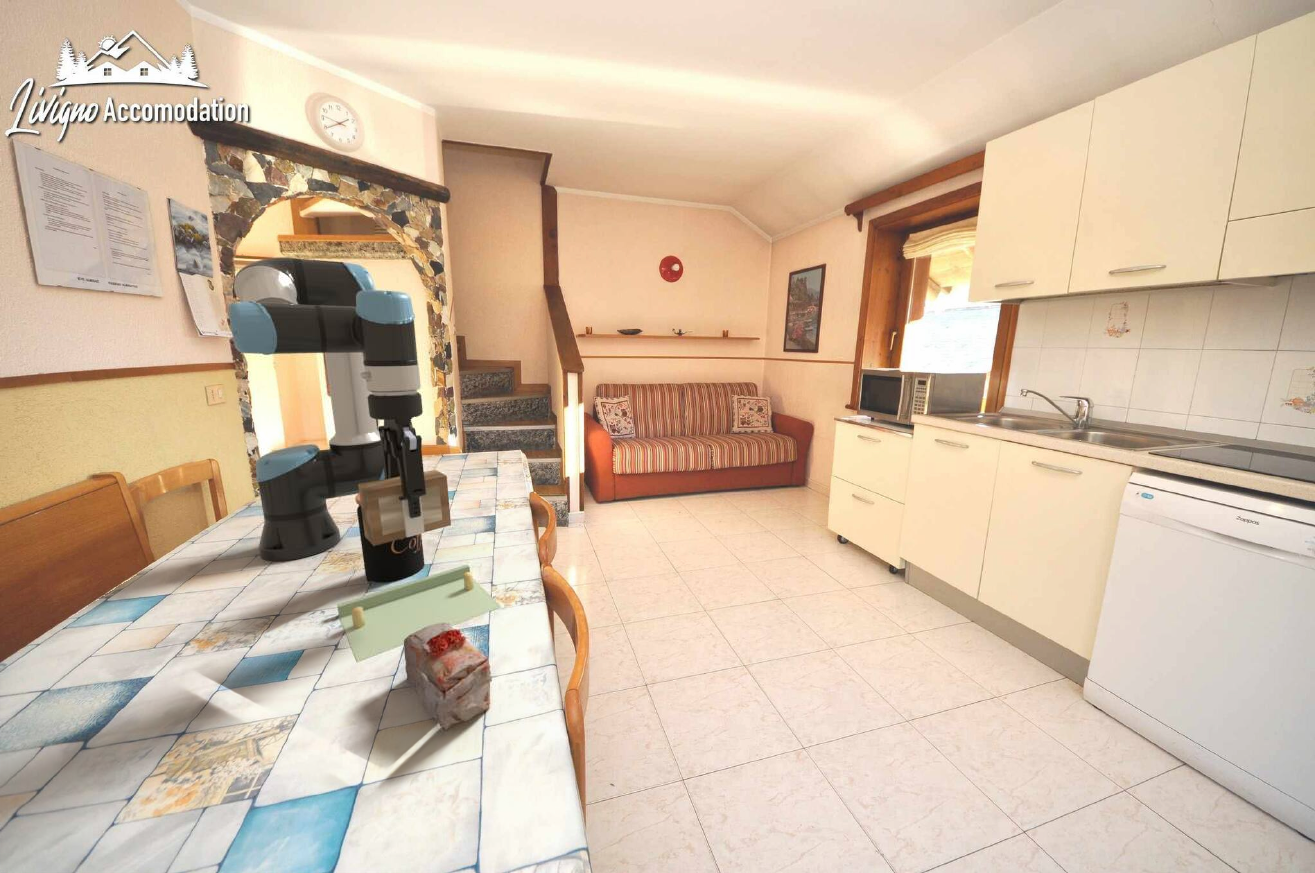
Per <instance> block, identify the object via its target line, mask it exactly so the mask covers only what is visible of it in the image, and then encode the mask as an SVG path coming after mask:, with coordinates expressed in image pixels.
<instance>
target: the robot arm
mask: <svg viewBox="0 0 1315 873" xmlns="http://www.w3.org/2000/svg"><path fill="white" fill-rule="evenodd" d="M372 278H373V277H372V276H371V274H370V272H369V271H368V270H367V269H366V267H365V266H363V265H361V264H359V263H358V264H356V263H351V262H350V263H349V262H345V261H332V260H321V259H320V260H319V259H309V258H308V259H306V258H295V257H285V256H283V257H282V256H281V257H279V256H278V257H269V258H264V259H260V260H257V261H254V262H251V263H249V264H247V265H245V266H244V267H242V268H241V269H240V270H239V271H238V272H237V273H236V275H235V277H234V281H233V290H234V294H235V295H236V297H237V299H238V300H239V301H238V302H237V301H236V302H234V301H233V302H232V303H230V304H229V305H228V309H227V310H228V312H227V313H228V316H229V323H230V329H231V334H232V340H233V345H234V348H235V349H236V350H237V351H238V352H239V353H242V354H255V355H256V354H258V355H265V356H268V355H283V354H284V355H289V354H294V355H295V354H324V358H325V365H326V372H327V378H328V379H327V382H328V387H329V394H330V396H329V397H330V402H331V408H332V409H331V410H332V417H333V423H334V424H333V425H334V431H335V432H334V435H333V436H332V437H331V438H330V440H329V441H328V444H329V449H328V448H327V449H320V448H319V447H318V445H316V444H310V443H309V444H301V445H295V446H289V447H285V448H281V449H278V450H274V451H271V452H269V453H266V454H264V455H262V456H261V457H258V459H257V460H256V462H255V472H256V474H255V475H256V478H255V481H256V482H257V484H258V489H259V495H260V500H261V501H260V502H261V508H262V515H263V520H264V522H263V523H264V524H263V527H262V531H261V536H260V541H259V544H258V551H259V556H260V557H261V558H262V559H263V560H265V561H266V560H267V561H271V562H272V561H273V562H274V561H276V562H277V561H278V562H280V561H283V562H284V561H292V560H297V559H298V560H299V559H301V558H302V559H303V558H306V557H310V556H314V555H317V554H320V553H323V552H325V551H327V550H329V549H332V548H333V547H335V546H336V545H338V544H339V543H340V541H341V534H340V533H341V531H340V528H339V527H338V525H337V524H336V522H335V520H334V519H333V516H332V515H331V513H330V512H329V509H328V507H327V506H328V505H327V500H329V499H330V500H331V499H336V498H340V497H346V496H353V495H358V494H359V487H358V484H361V483H367V482H372V481H378V480H383V479H389V478H394V477H399V476H400V479H401V484H402V490H403V496H402V497H399V500H400V501H402V507H403V516H404V525H405V534H406V537H411V536H414V535H418V534H421V535H423V534H425V533H426V532H425V531H424V521H423V511H422V501H421V496H423V495H426V489H425V479H424V472H425V471H424V460H423V452H422V445H423V443H422V442H423V441H422V440H423V438H422V435H420V434H418V435H417V430H416V429H415V427H414V426H413V423H412V419H413V418H417V417H419V416H422V414H423V412H424V410H423V401H422V393H421V394H420V391H419V390H420V389H421V388H422V385H421V375H420V367H419V365H420V364H419V363H418V362H419V361H418V350H417V338H416V329H415V319H416V315H415V313H414V308H413V304H412V298H411V296H410V295H409V294H408V293H406V292H402V291H397V290H396V291H394V290H382V289H381V290H379V289H376V287H375V284H374V281H373V279H372ZM418 391H419V392H418ZM377 420H380V421H383V425H377Z"/></svg>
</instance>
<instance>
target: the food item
mask: <svg viewBox="0 0 1315 873" xmlns="http://www.w3.org/2000/svg"><path fill="white" fill-rule="evenodd" d="M461 632H462V631H461V630H460V629H457V628H453V627H452V626H450V623H438V624H434V625H430V626H426V627H424V628H423V629H421V630H419V631H416V632H415V633H413V634H411V635H409V636H408V637H406V639H405V640H404V644H403V646H404V647H403V651H404V652H403V653H404V660H405V661H404V662H405V667H404V668H405V673H406V680H407V681H408V684H409V685H411V687H412V688H413V690H414V692H415V693H417V695H418V696H419V699H420V701H421V702H422V705H423V706H424V708H425V709H426V711H427V712H428V714H429V716H430V717H432V718H433V719H435V720H436V722H437V723H438V725H439V726H440V727H443V728H444V730H445V731H447V730H448V729H450V728H451V727H453V726H456V725H458V724H461V723H463V722H464V721H466V722H467V721H469V720H471V719H472V718H474V716H476V715H479V714H481V713H484V712H485V711H487V710H488V709H490V708H491V707H490V705H491V682H492V677H491V674H492V673H491V665H490V660H489V658H488V657H487V656H485V655H484V654H483V653H482V652H481V651H480V650H479V649H478V648H477V647H476V646H474V644H472V643H471V642H470V641H468V640H467V639H468V637H467V635H463V633H461Z"/></svg>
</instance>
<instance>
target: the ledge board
mask: <svg viewBox="0 0 1315 873" xmlns="http://www.w3.org/2000/svg"><path fill="white" fill-rule="evenodd" d="M473 574H474V573H473V572H471V569H470V565H468V564H464V565H461V566H458V567H454V568H451V569H448V570H445V571H440V572H438V573H434V574H431V575H428V576H425V577H422V578H418V579H415V580H412V581H409V582H405V583H402V584H399V585H395V586H392V587H388V588H386V589H382V590H379V591H376V592H373V593H369V594H366V595H362V596H360V597H357V598H353V599H349V600H347V601H343V602H340V603H338V604H336V607H337V613H338V616H339V620H340V621H341V625H342V627H343V629H344V632H345V635H346V638H347V639H348V642H349V645H350V647H351V650H352V652H353V655H354V658H355V661H356V663H358V662H361V661H364V660H367V659H370V658H372V657H374V656H377V655H380V654H382V653H384V652H387V651H390V650H393V649H395V648H397V647H401V646H404V640H405V639H406V637H408V636H409V635H411V634H413V633H415V632H416V631H419V630H421V629H423V628H424V627H426V626H430V625H434V624H438V623H450V626H451V627H452V626H453V627H454V626H455V625H458V624H460V623H463V622H466V621H468V620H471V619H474V618H477V617H479V616H481V615H484V614H486V613H489V612H492V611H495V610H497V609H500V608H502V606H501V605H500V604H499V603H498V602H497V601H496V600H495V599H494V598H493V596H491V594H489V593H488V592H487V591H486V590H485V589H484V588H483V587H482V585H480V584H479V583H478V582H477V580H475V579H474V575H473Z"/></svg>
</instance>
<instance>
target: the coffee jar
mask: <svg viewBox="0 0 1315 873" xmlns="http://www.w3.org/2000/svg"><path fill="white" fill-rule="evenodd" d="M354 497H355V503H356V504H357V506H358V507H357V508H356V513H357V522H358V528H359V535H360V543H361V544H360V545H361V550H362V551H361V552H362V558H363V566H364V574H365V580H366V581H367V582H368V583H371V582H373V583H375V584H376V583H381V584H382V583H383V584H385V583H394V582H398V581H401V580H405V579H408V578H410V577H413V576H415V575H417V574H419V573H420V572H421V571H422V570H423V569H424V567H425V565H426V564H425V554H424V545H423V537H422V536H423V534H418V535H414V536H411V537H406V538H402V539H398V540H394V541H391V542H387V543H383V544H380V545H376V546H373V545H372V544H371V542H370V541H369V540H368V539H367V538H366V537H365V533H364V525H363V517H362V510H361V502H360V494H356V495H355V496H354Z"/></svg>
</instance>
